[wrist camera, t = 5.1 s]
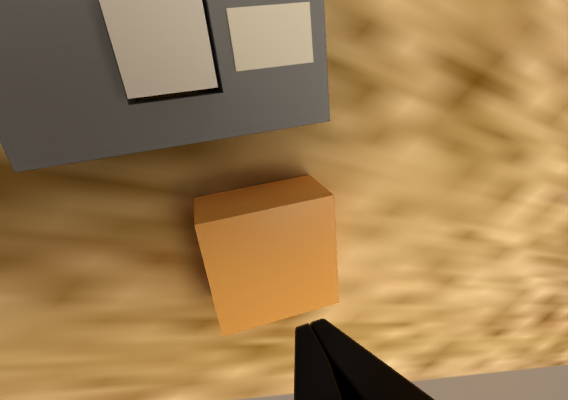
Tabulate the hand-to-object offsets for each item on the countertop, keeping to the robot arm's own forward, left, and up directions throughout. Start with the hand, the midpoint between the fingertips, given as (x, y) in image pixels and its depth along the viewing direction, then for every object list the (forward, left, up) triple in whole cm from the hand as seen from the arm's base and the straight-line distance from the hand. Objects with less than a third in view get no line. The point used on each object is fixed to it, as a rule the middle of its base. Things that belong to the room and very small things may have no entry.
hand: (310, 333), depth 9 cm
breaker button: (-3, +8, -11) cm, 14 cm away
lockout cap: (0, -3, -11) cm, 12 cm away
